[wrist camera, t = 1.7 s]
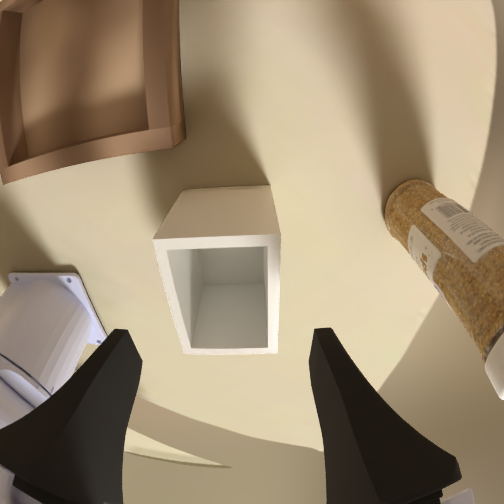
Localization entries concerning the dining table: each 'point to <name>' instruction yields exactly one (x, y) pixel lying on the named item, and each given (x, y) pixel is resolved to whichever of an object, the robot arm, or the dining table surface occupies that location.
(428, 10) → the dining table surface
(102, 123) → the walnut crate
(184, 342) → the small grey crate
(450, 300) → the sprinkles bottle
